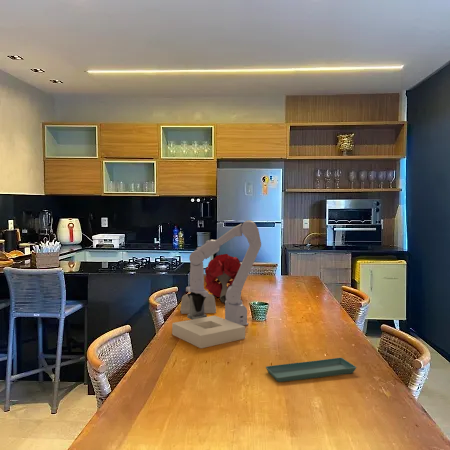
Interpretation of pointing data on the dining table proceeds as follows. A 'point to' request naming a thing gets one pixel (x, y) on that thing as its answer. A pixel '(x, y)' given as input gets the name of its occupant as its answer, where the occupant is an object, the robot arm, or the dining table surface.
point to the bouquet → (221, 274)
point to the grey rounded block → (208, 304)
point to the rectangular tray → (311, 369)
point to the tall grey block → (193, 312)
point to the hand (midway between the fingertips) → (197, 310)
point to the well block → (208, 331)
